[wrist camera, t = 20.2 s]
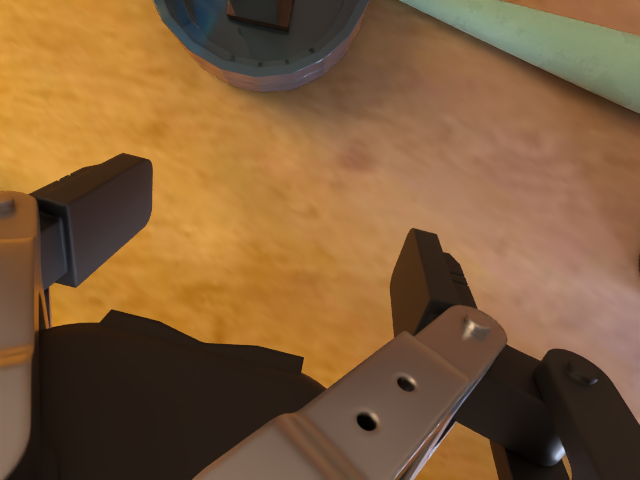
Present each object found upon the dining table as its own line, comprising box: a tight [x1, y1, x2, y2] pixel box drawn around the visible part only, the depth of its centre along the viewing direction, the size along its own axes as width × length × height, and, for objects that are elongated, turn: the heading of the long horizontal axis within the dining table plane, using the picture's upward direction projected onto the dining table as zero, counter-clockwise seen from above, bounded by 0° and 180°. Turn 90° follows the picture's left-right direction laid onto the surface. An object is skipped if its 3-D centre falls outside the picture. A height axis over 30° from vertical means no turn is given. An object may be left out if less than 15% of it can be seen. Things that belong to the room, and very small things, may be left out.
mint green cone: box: [400, 0, 640, 114], centre depth 31 cm, size 5×6×27 cm
